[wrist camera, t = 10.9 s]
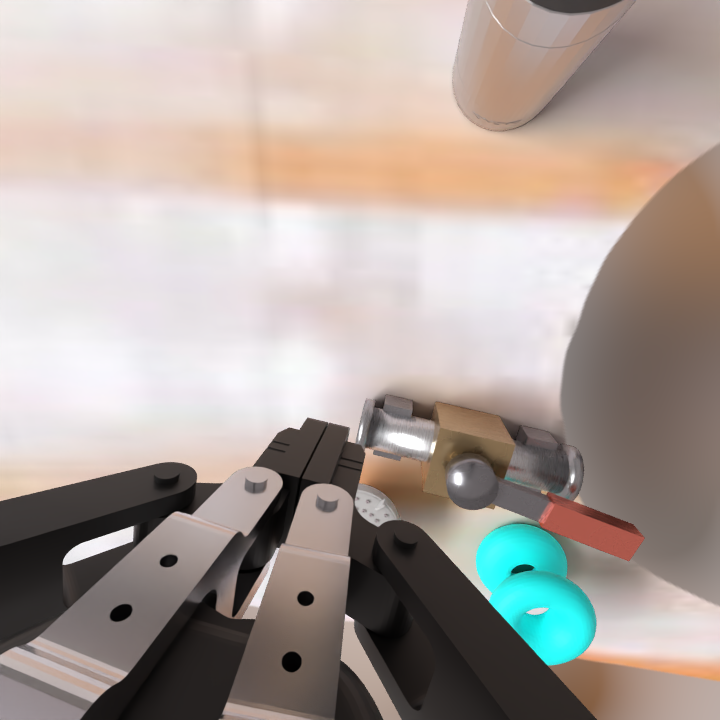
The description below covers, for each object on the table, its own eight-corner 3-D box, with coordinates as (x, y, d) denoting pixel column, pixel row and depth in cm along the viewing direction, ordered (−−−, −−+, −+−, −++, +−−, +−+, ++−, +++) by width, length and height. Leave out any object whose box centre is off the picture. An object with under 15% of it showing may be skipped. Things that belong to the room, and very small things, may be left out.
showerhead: (422, 531, 38) (361, 588, 41) (420, 489, 45) (368, 541, 48) (348, 473, 38) (292, 536, 41) (358, 441, 45) (309, 496, 47)
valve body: (369, 386, 43) (361, 411, 36) (568, 431, 41) (602, 468, 34) (357, 441, 45) (347, 476, 37) (547, 487, 43) (575, 533, 36)
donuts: (481, 594, 36) (595, 582, 34) (466, 524, 46) (554, 512, 44) (500, 676, 38) (608, 669, 36) (482, 592, 48) (567, 584, 46)
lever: (437, 485, 36) (439, 498, 34) (455, 445, 35) (458, 457, 33) (612, 552, 35) (624, 570, 33) (637, 514, 34) (651, 531, 32)
